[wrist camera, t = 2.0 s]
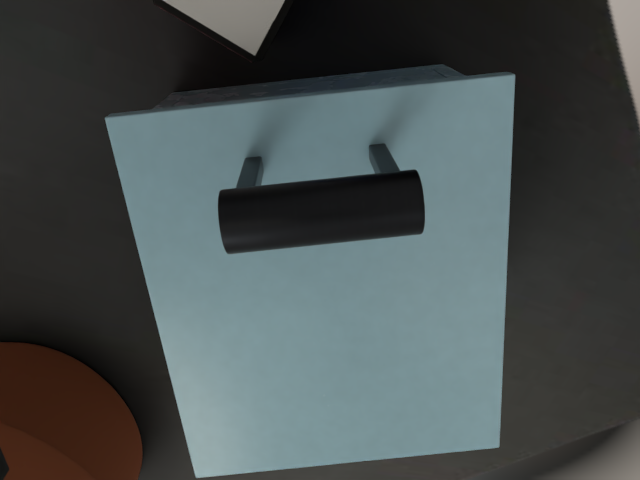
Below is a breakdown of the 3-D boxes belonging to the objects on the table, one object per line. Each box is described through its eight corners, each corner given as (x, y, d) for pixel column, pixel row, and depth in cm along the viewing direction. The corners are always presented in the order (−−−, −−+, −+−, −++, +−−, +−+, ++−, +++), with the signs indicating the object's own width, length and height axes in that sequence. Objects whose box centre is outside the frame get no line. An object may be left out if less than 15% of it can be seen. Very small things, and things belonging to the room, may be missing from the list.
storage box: (171, 92, 33) (116, 137, 23) (443, 63, 33) (507, 96, 23) (222, 347, 40) (198, 466, 30) (445, 324, 40) (494, 436, 30)
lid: (110, 113, 23) (23, 170, 15) (508, 71, 22) (606, 109, 15) (197, 466, 30) (167, 613, 23) (494, 436, 30) (555, 575, 23)
